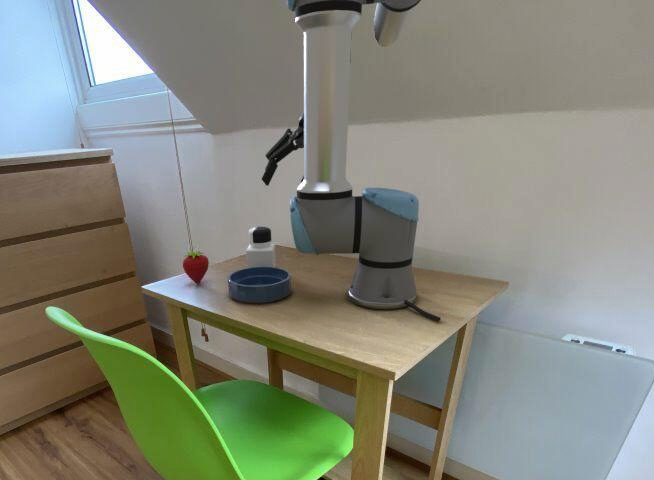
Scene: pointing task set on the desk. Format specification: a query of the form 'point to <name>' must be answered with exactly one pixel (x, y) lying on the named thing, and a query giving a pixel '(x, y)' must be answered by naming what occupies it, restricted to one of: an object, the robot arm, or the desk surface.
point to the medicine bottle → (260, 248)
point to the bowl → (259, 284)
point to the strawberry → (195, 266)
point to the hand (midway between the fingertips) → (283, 183)
